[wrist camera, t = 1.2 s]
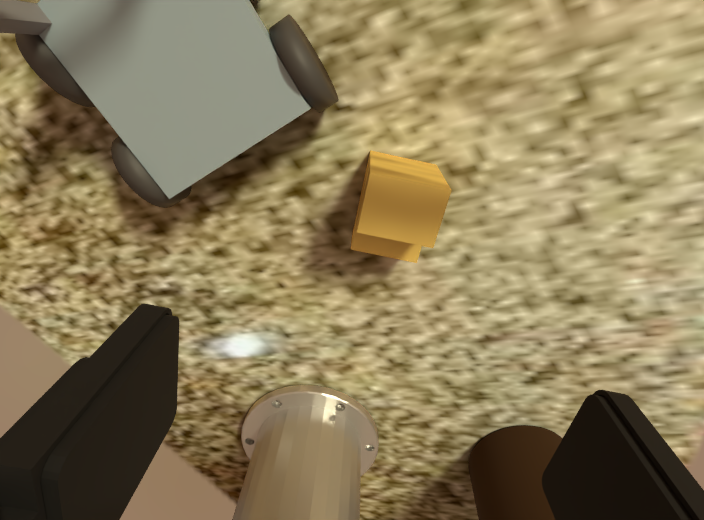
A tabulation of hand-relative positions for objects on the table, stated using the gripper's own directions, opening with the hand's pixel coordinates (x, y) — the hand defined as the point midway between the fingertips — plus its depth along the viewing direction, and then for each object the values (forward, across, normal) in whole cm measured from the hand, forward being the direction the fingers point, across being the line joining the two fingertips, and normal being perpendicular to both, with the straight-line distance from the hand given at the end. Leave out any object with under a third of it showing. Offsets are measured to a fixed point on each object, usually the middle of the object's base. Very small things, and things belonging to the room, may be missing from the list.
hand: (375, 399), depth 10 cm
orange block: (+21, -2, +1) cm, 21 cm away
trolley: (+21, +12, -5) cm, 24 cm away
